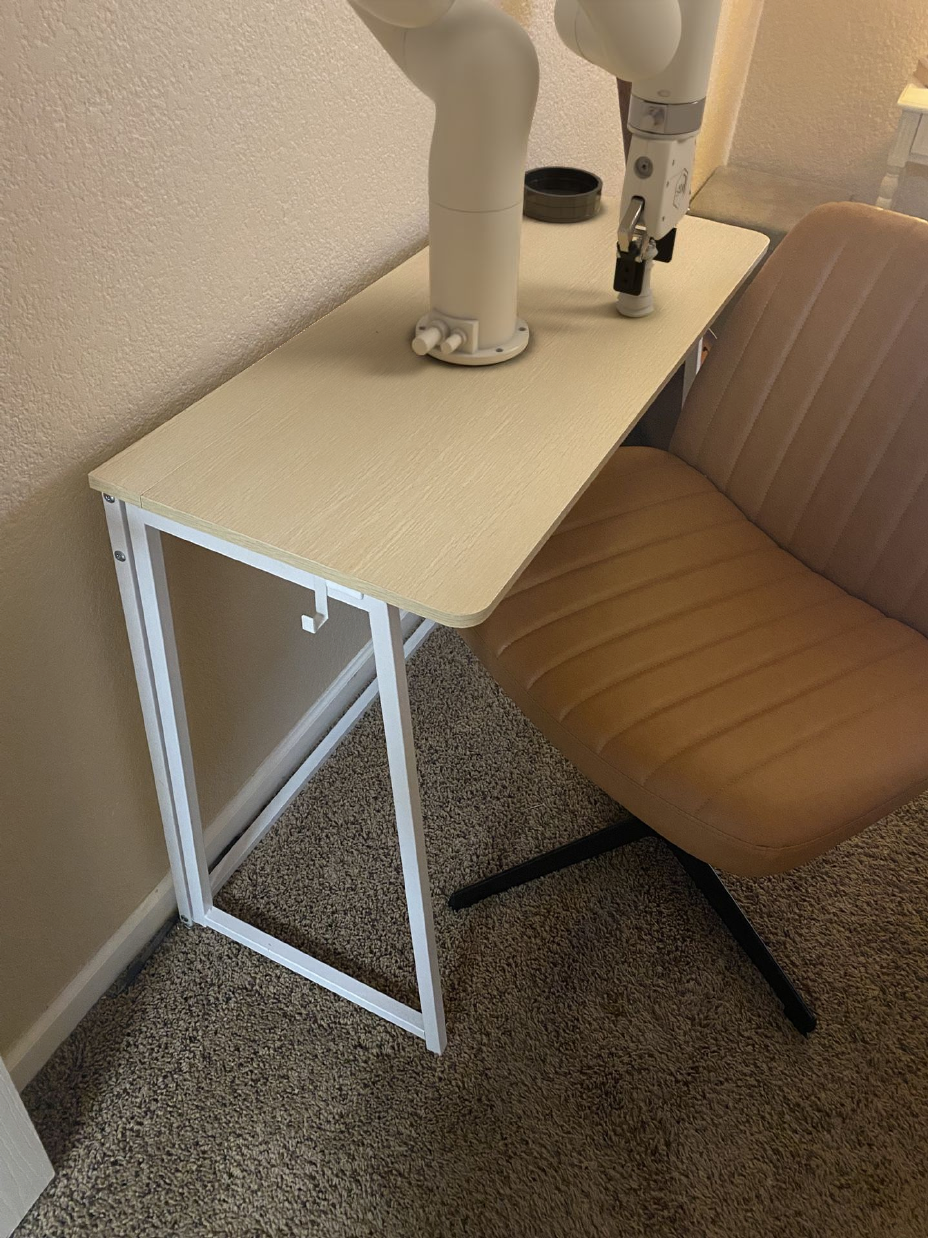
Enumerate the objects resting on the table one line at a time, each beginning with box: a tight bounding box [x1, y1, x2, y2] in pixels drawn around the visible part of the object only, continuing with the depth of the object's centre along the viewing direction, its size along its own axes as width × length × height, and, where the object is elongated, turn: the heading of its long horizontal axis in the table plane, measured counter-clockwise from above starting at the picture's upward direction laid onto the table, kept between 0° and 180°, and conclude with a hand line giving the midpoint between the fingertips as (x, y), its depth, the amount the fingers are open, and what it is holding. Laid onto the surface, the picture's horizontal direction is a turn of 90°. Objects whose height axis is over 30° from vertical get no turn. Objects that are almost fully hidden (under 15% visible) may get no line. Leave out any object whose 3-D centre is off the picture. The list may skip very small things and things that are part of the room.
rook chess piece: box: [615, 237, 658, 318], centre depth 108 cm, size 4×4×8 cm
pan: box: [523, 165, 604, 224], centre depth 131 cm, size 12×12×4 cm
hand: (642, 275), depth 108 cm, fingers open, 9 cm apart
